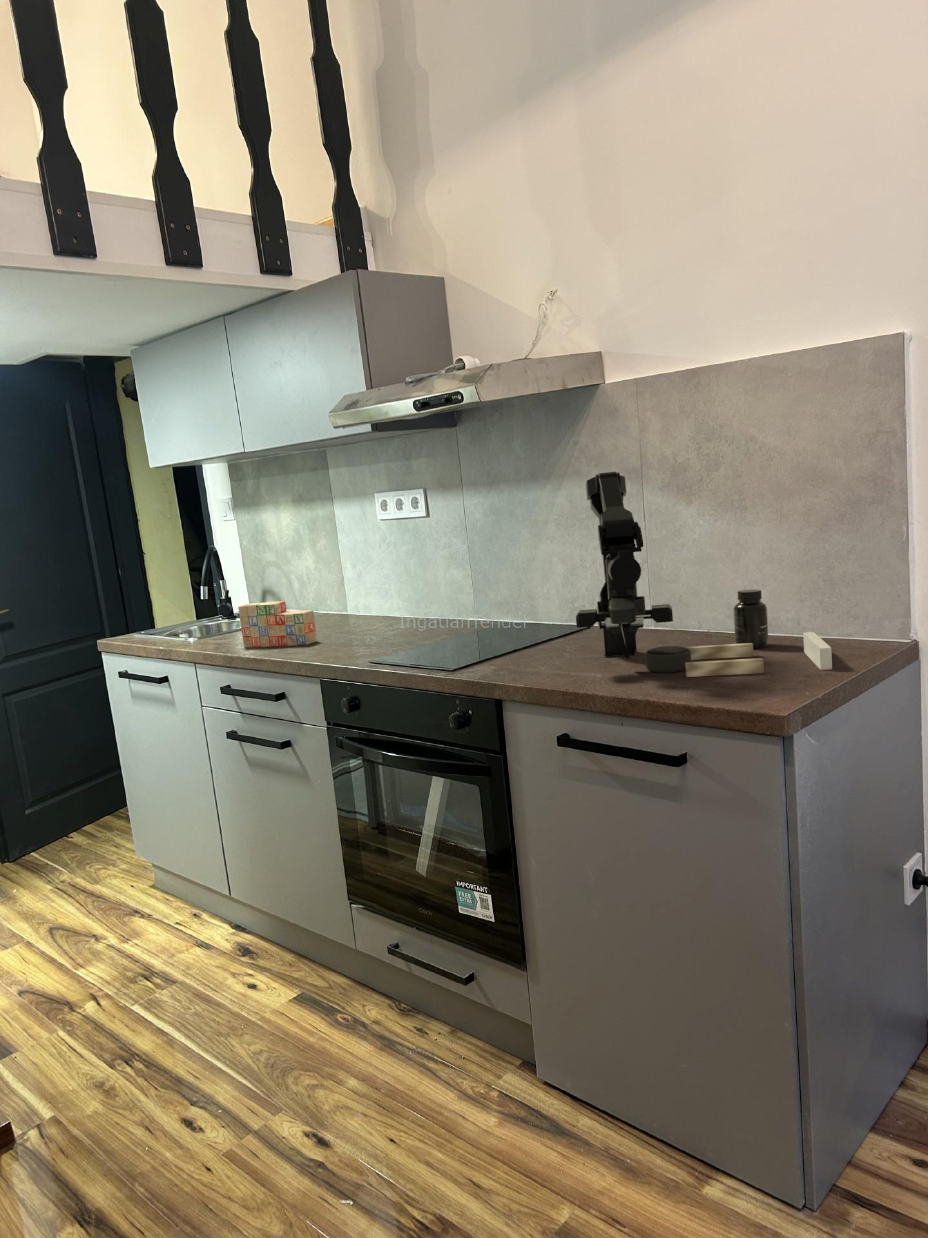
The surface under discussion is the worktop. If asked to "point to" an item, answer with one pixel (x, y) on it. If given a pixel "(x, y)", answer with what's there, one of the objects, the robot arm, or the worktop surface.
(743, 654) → the tunnel walls
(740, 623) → the supplement bottle
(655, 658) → the smart speaker
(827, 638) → the worktop surface
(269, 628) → the stack of blocks
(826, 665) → the block
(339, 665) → the worktop surface
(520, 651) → the worktop surface
